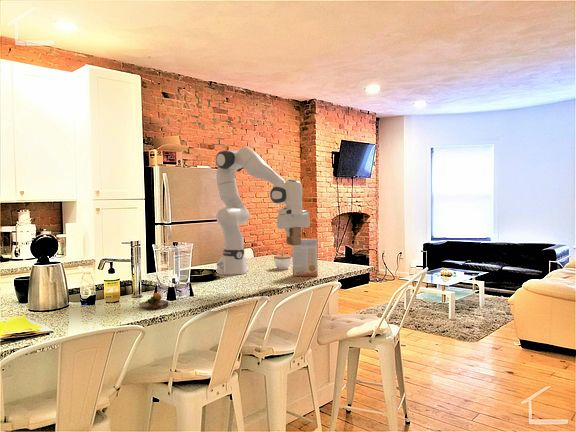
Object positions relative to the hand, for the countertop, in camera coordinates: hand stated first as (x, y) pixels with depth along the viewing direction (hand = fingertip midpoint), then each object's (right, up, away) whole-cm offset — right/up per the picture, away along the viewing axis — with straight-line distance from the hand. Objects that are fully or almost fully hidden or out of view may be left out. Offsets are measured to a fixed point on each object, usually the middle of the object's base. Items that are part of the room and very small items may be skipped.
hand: (293, 236), depth 249 cm
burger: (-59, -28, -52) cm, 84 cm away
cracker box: (+7, -23, +16) cm, 29 cm away
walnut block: (0, -4, 0) cm, 4 cm away
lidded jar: (-6, -22, +41) cm, 47 cm away
